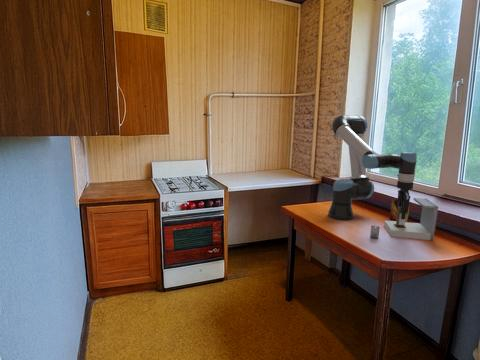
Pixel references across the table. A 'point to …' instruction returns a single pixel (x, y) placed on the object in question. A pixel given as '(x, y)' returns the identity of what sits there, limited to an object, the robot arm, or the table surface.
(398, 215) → the walnut dowel
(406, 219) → the mug
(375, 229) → the cylinder
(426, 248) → the table surface
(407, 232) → the socket block
